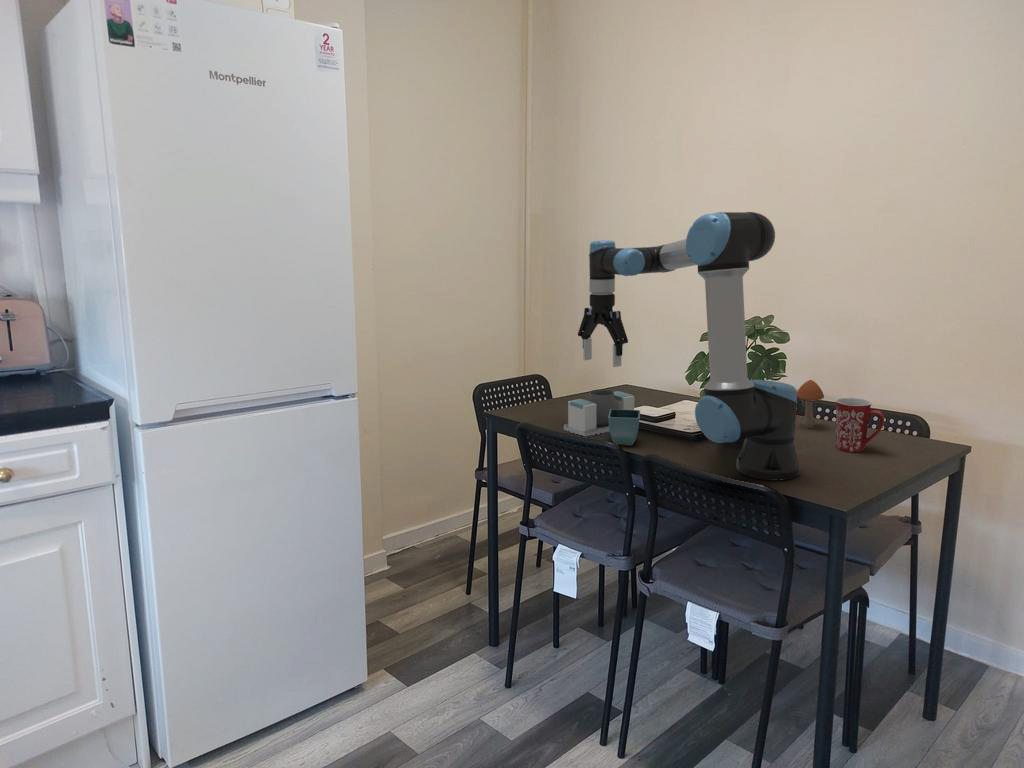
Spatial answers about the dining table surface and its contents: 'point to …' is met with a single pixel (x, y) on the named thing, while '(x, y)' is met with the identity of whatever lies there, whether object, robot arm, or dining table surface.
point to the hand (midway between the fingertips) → (601, 363)
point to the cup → (602, 404)
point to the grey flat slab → (598, 430)
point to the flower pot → (623, 425)
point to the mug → (854, 423)
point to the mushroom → (809, 400)
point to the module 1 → (581, 415)
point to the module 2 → (624, 401)
